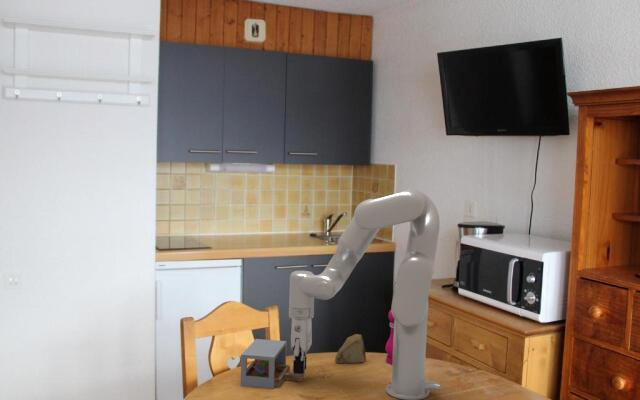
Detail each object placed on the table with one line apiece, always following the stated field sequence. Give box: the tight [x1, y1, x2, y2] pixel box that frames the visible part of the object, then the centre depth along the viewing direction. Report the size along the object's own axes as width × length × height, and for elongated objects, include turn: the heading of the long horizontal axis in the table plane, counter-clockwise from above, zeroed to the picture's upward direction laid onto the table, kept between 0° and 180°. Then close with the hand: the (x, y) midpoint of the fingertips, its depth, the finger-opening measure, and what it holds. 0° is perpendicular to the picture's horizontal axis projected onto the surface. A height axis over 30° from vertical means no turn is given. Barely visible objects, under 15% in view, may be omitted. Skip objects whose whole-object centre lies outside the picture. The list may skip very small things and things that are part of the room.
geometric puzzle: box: [252, 359, 276, 377], centre depth 208 cm, size 7×7×8 cm
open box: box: [240, 338, 287, 390], centre depth 208 cm, size 10×17×10 cm, turn 171°
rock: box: [334, 333, 367, 364], centre depth 227 cm, size 11×9×10 cm
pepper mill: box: [384, 309, 395, 365], centre depth 227 cm, size 7×7×20 cm
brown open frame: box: [247, 356, 306, 387], centre depth 208 cm, size 18×14×7 cm
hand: (299, 370), depth 206 cm, fingers closed on brown open frame, 3 cm apart
